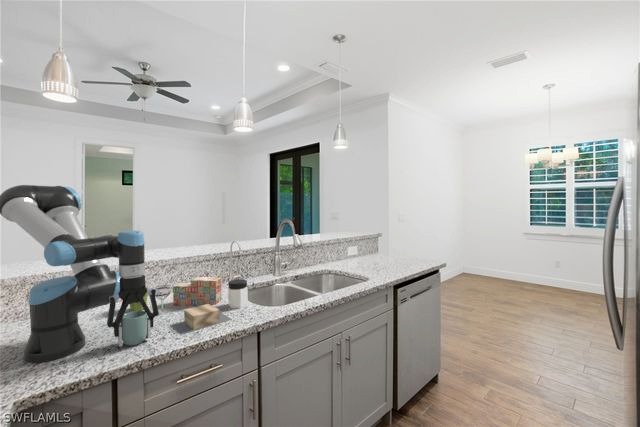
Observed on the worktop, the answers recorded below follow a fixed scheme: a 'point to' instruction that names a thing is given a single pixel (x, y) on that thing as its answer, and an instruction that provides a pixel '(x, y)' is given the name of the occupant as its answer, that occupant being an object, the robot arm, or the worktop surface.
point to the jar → (238, 293)
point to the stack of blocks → (198, 292)
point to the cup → (134, 327)
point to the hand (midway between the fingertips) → (134, 340)
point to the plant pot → (138, 304)
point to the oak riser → (201, 316)
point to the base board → (184, 328)
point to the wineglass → (162, 294)
